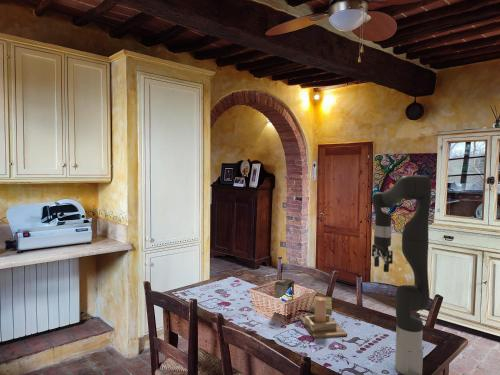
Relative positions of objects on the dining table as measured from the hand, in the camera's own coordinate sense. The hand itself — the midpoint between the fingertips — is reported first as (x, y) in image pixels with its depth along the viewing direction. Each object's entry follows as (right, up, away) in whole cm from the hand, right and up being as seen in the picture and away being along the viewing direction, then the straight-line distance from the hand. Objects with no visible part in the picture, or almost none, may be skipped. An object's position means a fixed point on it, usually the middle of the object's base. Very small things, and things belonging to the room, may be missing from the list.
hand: (381, 269), depth 173 cm
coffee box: (-43, -28, +25) cm, 57 cm away
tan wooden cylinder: (-28, -28, +5) cm, 40 cm away
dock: (-27, -29, +5) cm, 40 cm away
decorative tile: (-26, -28, +32) cm, 50 cm away
